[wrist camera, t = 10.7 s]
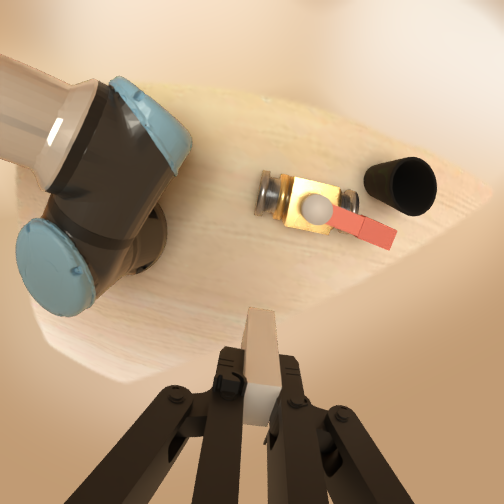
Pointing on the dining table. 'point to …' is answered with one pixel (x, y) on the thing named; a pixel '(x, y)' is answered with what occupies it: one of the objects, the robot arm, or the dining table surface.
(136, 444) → the robot arm
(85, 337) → the dining table surface
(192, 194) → the dining table surface
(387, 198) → the cup
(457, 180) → the dining table surface
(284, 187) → the valve body
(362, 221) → the lever
